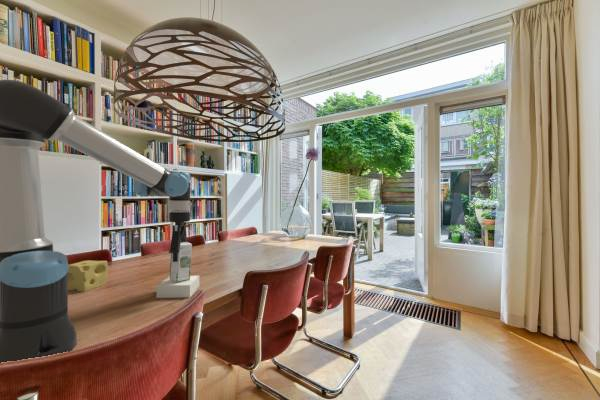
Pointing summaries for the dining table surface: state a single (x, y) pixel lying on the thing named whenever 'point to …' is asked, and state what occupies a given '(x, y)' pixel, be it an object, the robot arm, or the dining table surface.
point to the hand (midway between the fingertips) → (179, 265)
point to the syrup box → (182, 263)
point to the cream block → (177, 288)
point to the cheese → (87, 275)
